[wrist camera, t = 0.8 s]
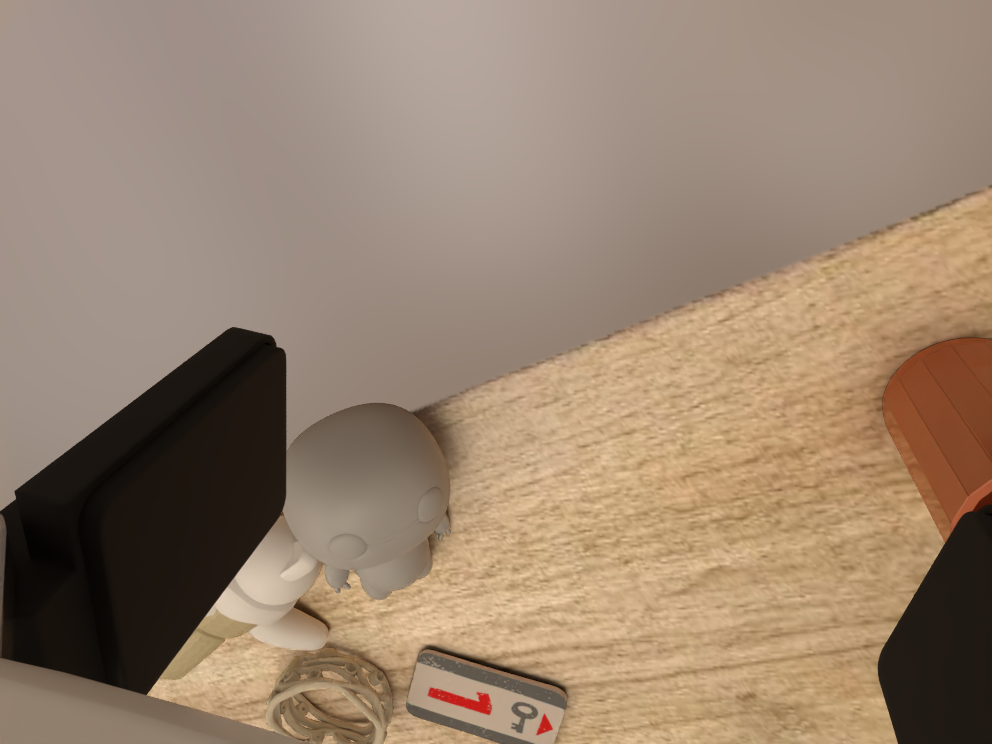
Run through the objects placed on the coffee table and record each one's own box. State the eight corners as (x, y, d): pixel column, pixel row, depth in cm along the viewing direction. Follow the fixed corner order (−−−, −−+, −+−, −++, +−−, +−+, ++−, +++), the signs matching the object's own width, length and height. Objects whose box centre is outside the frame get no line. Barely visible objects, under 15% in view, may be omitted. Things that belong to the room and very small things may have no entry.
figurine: (361, 676, 37) (290, 539, 29) (314, 569, 42) (243, 428, 34) (496, 598, 40) (464, 453, 32) (436, 506, 45) (396, 361, 37)
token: (418, 648, 45) (574, 700, 44) (420, 642, 45) (575, 693, 44) (403, 715, 49) (547, 763, 48) (405, 709, 49) (548, 756, 48)
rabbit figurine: (136, 603, 48) (285, 466, 40) (264, 652, 53) (422, 538, 44) (105, 682, 44) (263, 548, 36) (246, 727, 48) (416, 618, 40)
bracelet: (406, 755, 45) (323, 673, 43) (318, 789, 48) (235, 713, 46) (422, 702, 49) (345, 623, 47) (338, 736, 52) (263, 664, 50)
